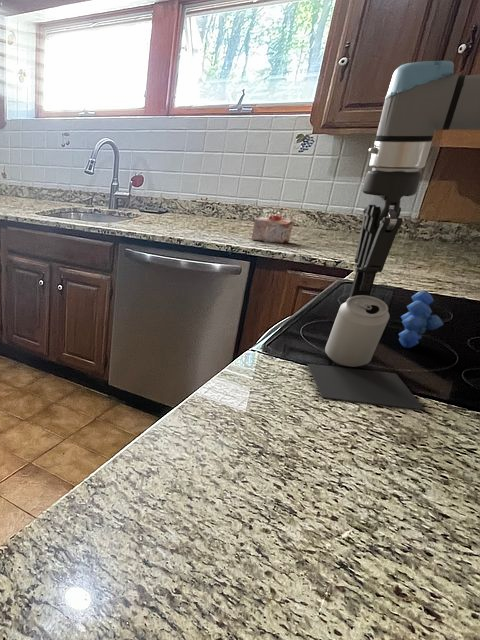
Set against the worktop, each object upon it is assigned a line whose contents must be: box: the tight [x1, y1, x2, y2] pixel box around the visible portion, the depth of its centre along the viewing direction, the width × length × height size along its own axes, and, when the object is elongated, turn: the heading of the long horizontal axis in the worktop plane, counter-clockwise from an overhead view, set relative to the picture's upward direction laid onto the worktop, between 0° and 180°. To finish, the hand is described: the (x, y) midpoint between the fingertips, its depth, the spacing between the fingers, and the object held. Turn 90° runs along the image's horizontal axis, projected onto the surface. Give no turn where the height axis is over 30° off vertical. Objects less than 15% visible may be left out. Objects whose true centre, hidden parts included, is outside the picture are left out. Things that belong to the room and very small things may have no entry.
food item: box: [250, 214, 295, 244], centre depth 201 cm, size 14×8×10 cm, turn 41°
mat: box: [306, 363, 426, 412], centre depth 89 cm, size 14×14×1 cm
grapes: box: [398, 290, 444, 349], centre depth 102 cm, size 12×7×12 cm, turn 136°
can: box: [324, 295, 391, 368], centre depth 94 cm, size 8×8×12 cm
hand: (356, 306), depth 96 cm, fingers closed
